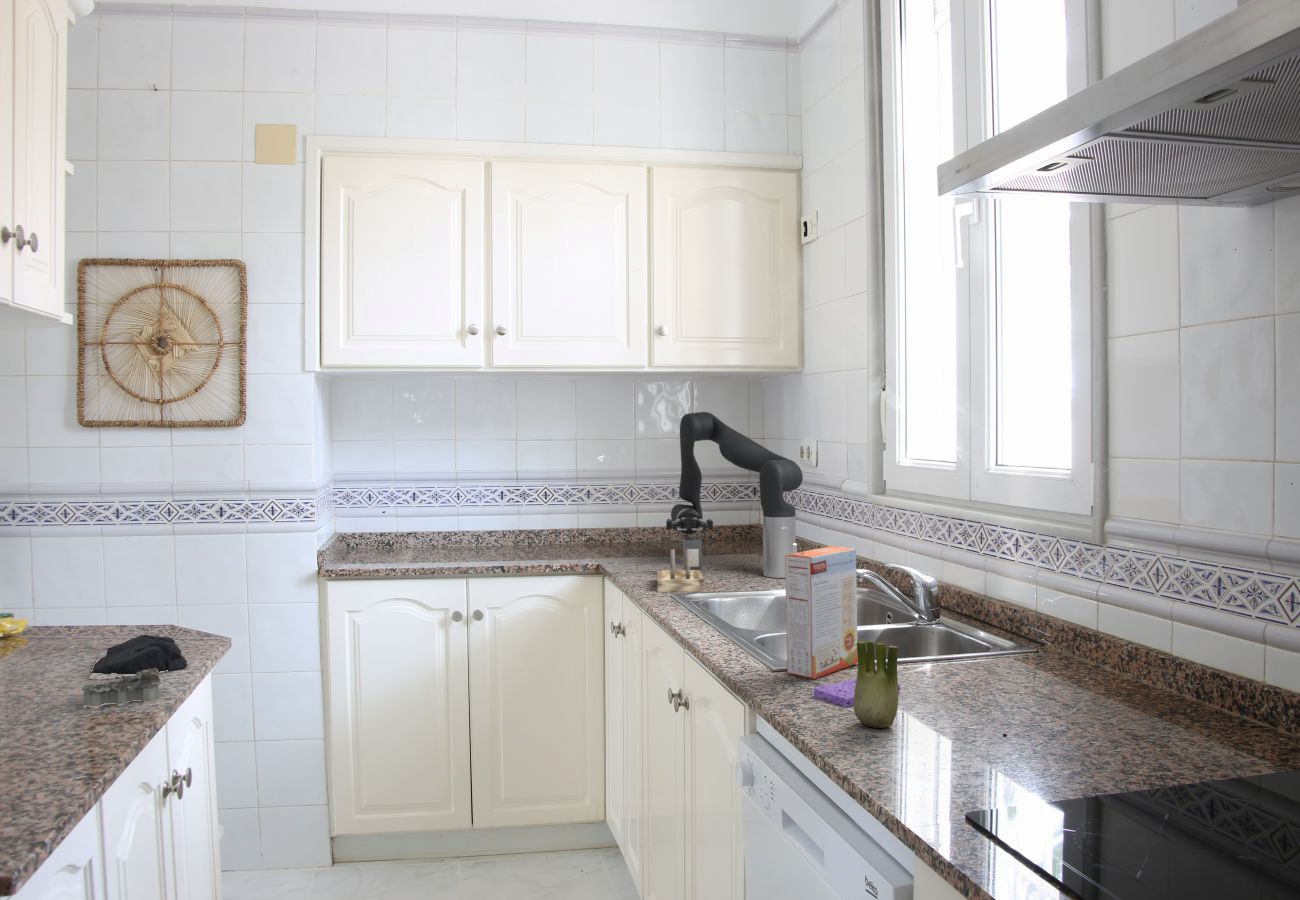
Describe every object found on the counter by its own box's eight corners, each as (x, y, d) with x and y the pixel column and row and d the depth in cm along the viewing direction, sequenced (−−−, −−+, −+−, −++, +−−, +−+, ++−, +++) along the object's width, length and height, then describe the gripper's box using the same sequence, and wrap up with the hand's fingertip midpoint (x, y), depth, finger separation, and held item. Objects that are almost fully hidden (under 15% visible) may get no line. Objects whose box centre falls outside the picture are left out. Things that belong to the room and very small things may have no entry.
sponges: (813, 699, 141) (813, 687, 141) (867, 685, 148) (867, 674, 148) (846, 710, 135) (846, 698, 135) (901, 695, 143) (901, 684, 143)
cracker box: (830, 658, 164) (830, 545, 163) (859, 664, 159) (858, 547, 159) (783, 673, 154) (783, 552, 153) (813, 680, 150) (812, 556, 149)
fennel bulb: (902, 728, 125) (902, 643, 125) (876, 735, 123) (876, 648, 123) (872, 717, 130) (872, 635, 130) (847, 723, 128) (847, 639, 128)
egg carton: (161, 691, 147) (161, 666, 147) (159, 703, 140) (158, 677, 140) (85, 699, 143) (85, 673, 143) (79, 712, 136) (78, 685, 136)
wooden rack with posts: (700, 580, 249) (700, 543, 249) (703, 591, 233) (703, 551, 233) (657, 581, 249) (657, 543, 249) (657, 591, 233) (657, 551, 233)
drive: (700, 574, 259) (700, 537, 259) (701, 579, 252) (701, 540, 252) (683, 575, 259) (683, 537, 259) (684, 579, 252) (683, 540, 252)
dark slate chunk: (185, 647, 178) (184, 623, 178) (187, 673, 159) (187, 646, 158) (95, 657, 171) (94, 632, 171) (86, 685, 151) (85, 658, 151)
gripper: (666, 509, 283) (666, 514, 267) (711, 509, 283) (714, 514, 267) (665, 532, 283) (666, 539, 267) (710, 532, 283) (714, 539, 267)
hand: (690, 527), depth 267 cm, fingers open, 8 cm apart
